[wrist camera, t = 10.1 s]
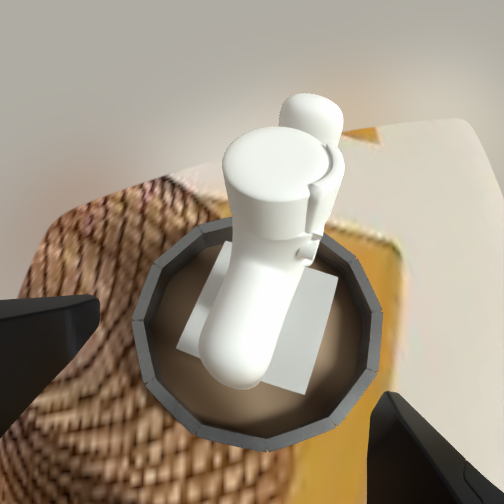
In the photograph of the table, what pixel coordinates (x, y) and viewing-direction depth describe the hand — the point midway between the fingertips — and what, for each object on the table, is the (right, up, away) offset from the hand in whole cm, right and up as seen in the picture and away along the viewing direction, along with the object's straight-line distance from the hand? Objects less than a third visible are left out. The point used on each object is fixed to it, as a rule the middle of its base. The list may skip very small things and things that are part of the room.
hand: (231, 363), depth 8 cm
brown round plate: (+1, -2, +13) cm, 13 cm away
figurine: (+1, -2, +12) cm, 12 cm away
